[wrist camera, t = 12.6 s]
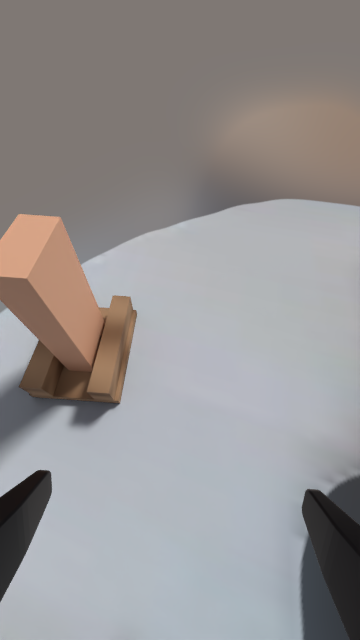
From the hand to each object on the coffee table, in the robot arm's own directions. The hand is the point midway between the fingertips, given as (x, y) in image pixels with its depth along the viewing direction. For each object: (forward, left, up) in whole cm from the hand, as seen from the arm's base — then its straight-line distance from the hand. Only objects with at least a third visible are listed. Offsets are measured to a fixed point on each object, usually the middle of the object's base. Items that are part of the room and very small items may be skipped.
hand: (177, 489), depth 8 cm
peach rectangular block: (+7, +12, -12) cm, 18 cm away
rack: (+7, +12, -13) cm, 19 cm away
